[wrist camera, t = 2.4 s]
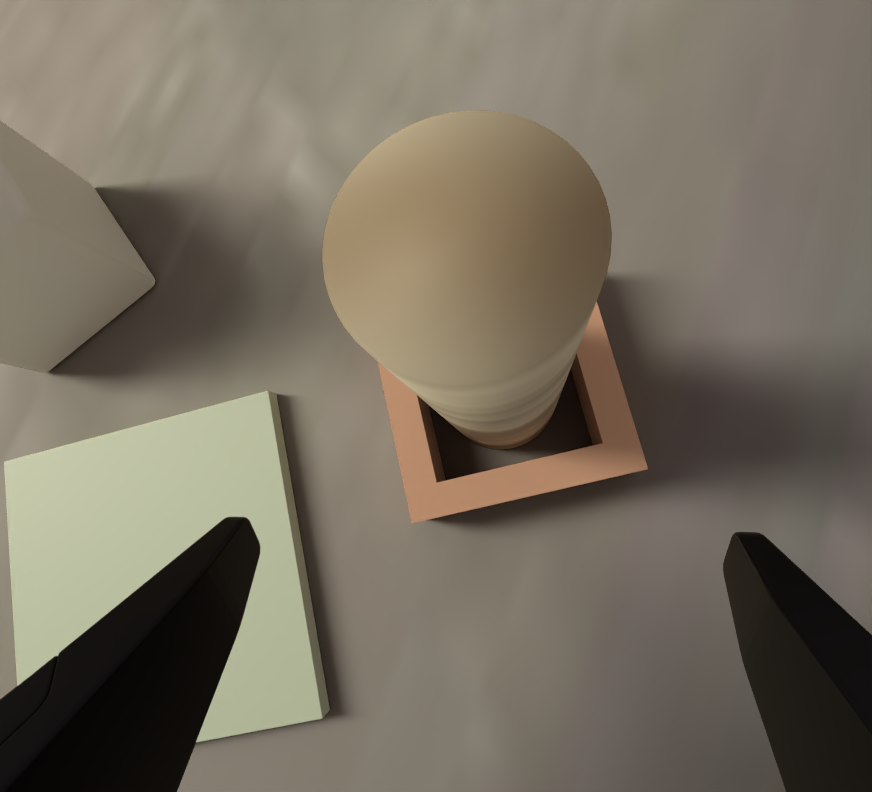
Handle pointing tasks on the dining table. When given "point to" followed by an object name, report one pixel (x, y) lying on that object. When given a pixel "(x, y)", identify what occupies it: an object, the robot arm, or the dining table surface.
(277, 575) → the sage board
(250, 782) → the dining table surface
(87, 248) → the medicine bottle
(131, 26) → the dining table surface
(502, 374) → the beige ribbed peg
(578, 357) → the terracotta socket
